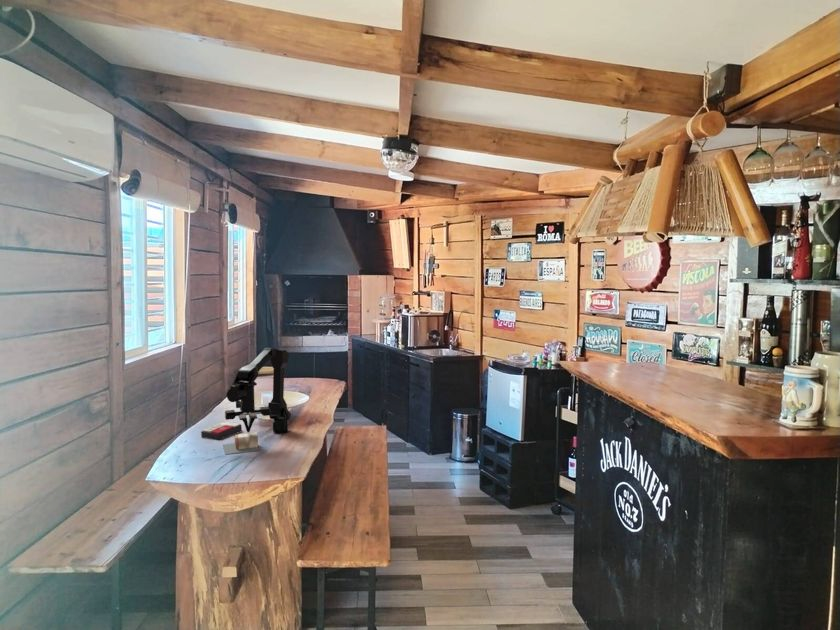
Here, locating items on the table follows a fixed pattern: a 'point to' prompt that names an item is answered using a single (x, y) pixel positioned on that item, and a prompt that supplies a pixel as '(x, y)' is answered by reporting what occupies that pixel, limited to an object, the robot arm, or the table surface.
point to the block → (246, 440)
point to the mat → (232, 449)
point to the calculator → (221, 430)
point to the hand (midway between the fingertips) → (248, 432)
